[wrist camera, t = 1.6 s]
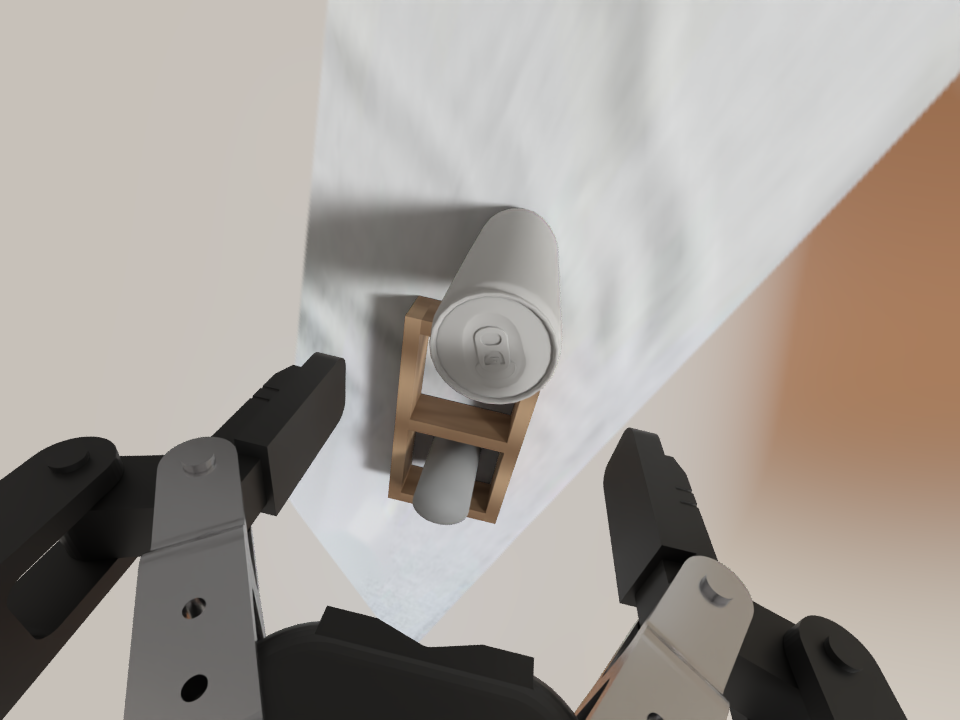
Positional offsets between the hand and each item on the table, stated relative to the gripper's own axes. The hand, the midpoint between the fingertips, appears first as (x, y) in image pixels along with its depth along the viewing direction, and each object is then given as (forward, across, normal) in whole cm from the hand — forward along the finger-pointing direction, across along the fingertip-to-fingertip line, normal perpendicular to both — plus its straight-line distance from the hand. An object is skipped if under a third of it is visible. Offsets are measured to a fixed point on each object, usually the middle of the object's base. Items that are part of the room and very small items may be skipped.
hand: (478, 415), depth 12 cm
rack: (+15, +1, +13) cm, 20 cm away
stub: (+15, +1, +17) cm, 23 cm away
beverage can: (+15, 0, 0) cm, 16 cm away
